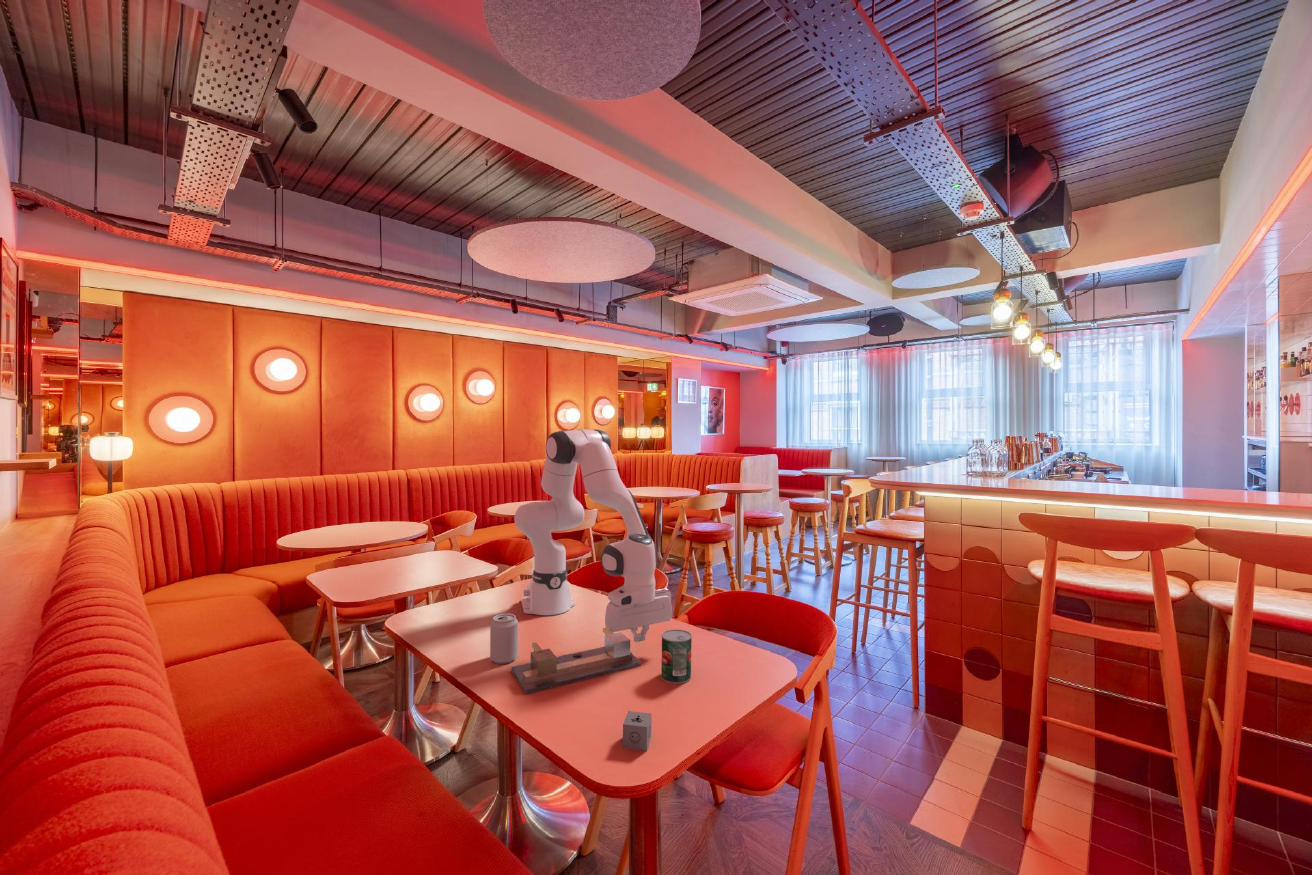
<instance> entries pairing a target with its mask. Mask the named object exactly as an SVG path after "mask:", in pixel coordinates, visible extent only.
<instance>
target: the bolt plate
mask: <svg viewBox="0 0 1312 875" xmlns="http://www.w3.org/2000/svg"><path fill="white" fill-rule="evenodd" d="M531 648H532V649H533V651H530V662H527V663H524V664H519V665H515V666H511V667H510V669H511V673H512V675H513V676H514V677H515V679H516V681H517V683H518V684H519V686H520V688H521V690H522V691H523V693H524V694H525V695H529V694H532V693H536V692H540V691H544V690H549V689H553V688H557V687H560V686H565V685H568V684H573V683H577V682H580V681H584V680H589V679H592V678H597V677H601V676H604V675H605V676H606V675H609V674H613V673H616V672H621V671H625V670H629V669H634V668H636V667H637V668H638V667H641V666H642V664H643V663H642V661H641V659H639V658H638V657H637V656H635V655H634V654H633V651H632V650H630V655H626V656H621V657H617V658H613V657H612V656H611V655H609V654H608V653H607V652H606V651H605V646H602V647H601V646H600V647H595V648H592V649H591V648H590V649H588V650H584V651H583V650H582V651H578V652H573V653H569V654H565V655H559V656H557V655H556V654H554V652H553V651H552V650H551V649H550V648H545V649H542V648H541V647H540V645H539V644H538V643H537V642H531Z"/></svg>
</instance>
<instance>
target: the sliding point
mask: <svg viewBox="0 0 1312 875" xmlns="http://www.w3.org/2000/svg"><path fill="white" fill-rule="evenodd" d="M602 632H603V633H604V647H605V651H606V652H607V653H608V654H609V655H611V656H612V657H613V658H617V657H621V656H626V655H630V651H631V639H630V638H628V637H627V636H626V635H625V634H623V633H622V632H617V633H616V632H611V631H609V630H608V629H607V628H606V627H603V628H602Z"/></svg>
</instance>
